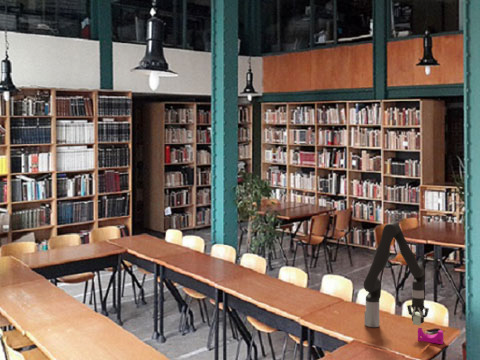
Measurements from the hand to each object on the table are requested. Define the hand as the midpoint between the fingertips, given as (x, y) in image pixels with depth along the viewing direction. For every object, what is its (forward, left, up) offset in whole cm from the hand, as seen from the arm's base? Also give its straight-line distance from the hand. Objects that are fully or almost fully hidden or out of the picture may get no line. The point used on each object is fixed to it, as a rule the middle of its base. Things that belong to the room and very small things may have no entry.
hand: (417, 322), depth 356 cm
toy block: (+9, -1, -10) cm, 14 cm away
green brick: (0, 0, 0) cm, 0 cm away
